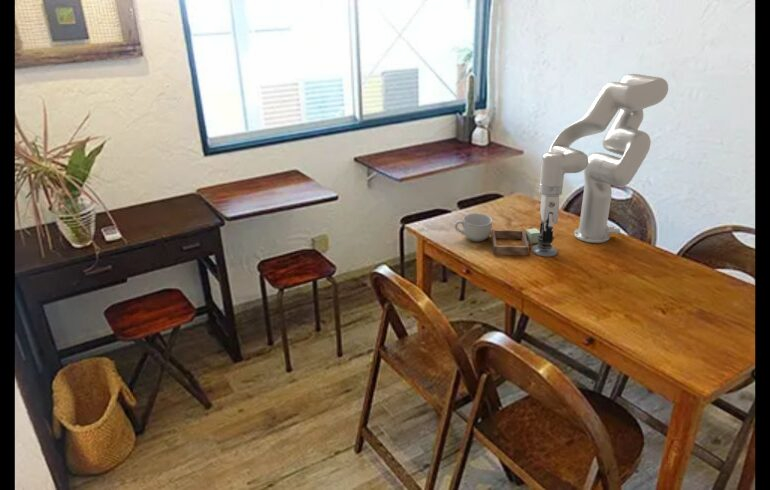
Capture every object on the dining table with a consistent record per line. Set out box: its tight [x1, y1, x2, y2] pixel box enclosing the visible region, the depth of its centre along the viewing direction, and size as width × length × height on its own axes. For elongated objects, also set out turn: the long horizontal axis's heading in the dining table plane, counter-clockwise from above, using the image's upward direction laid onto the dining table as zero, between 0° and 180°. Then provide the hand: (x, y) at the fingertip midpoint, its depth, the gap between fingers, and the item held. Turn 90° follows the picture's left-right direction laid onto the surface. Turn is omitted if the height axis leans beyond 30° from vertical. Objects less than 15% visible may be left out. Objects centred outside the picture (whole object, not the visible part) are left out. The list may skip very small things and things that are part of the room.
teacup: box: [454, 212, 493, 242], centre depth 213 cm, size 14×11×8 cm
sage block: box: [525, 228, 540, 244], centre depth 211 cm, size 4×4×4 cm
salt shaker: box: [536, 221, 555, 249], centre depth 199 cm, size 6×6×12 cm
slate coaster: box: [530, 244, 559, 258], centre depth 203 cm, size 9×9×1 cm
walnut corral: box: [490, 229, 530, 256], centre depth 207 cm, size 12×15×3 cm
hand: (545, 236), depth 200 cm, fingers closed on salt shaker, 5 cm apart
